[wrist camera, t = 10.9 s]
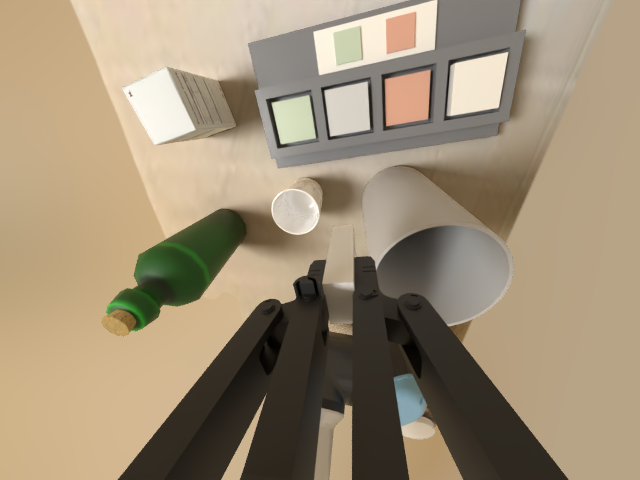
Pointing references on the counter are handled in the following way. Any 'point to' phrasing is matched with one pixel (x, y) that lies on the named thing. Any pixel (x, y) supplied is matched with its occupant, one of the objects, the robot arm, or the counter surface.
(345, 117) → the key grey
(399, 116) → the key terracotta
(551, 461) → the robot arm
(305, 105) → the key sage
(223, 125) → the supplement box
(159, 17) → the counter surface
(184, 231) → the bottle
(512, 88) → the key pad
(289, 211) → the white cup
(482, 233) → the cylinder vase
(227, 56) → the counter surface
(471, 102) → the key white
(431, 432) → the jar
